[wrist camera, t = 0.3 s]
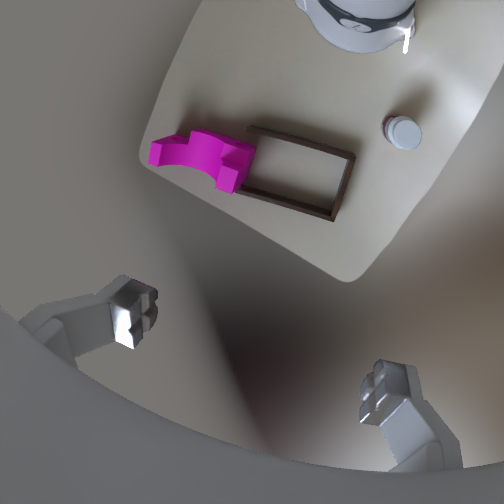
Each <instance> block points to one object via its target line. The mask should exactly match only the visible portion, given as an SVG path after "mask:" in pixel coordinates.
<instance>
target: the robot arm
mask: <svg viewBox="0 0 504 504" xmlns="http://www.w3.org/2000/svg"><path fill="white" fill-rule="evenodd" d="M295 3H296V5H297V6H298V7H299V8H300V9H302V10H303V11H304V12H305V13H307V14H308V16H309V17H310V19H311V21H312V23H313V25H314V26H315V28H316V29H317V31H318V32H319V33H320V34H321V35H322V36H323V37H324V38H325V39H326V40H328V41H329V42H331V43H332V44H334V45H336V46H338V47H340V48H342V49H345V50H348V51H351V52H357V53H373V52H378V51H381V50H384V49H386V48H388V47H389V46H391V45H392V44H393V43H395V42H397V41H400V40H405V44H404V50H403V53H407V47H408V40H409V39H411V38H412V37H413V36H414V35H415V24H414V21H415V18H414V12H413V8H414V6H415V3H416V0H295ZM157 298H158V291H157V290H156V289H155V288H153V287H151V286H149V285H146V284H144V283H141V282H139V281H137V280H135V279H132V278H130V277H127V276H125V275H119V276H118V277H117V278H116V279H114V280H113V281H112V282H111V283H109V284H108V285H107V286H106V287H104V288H103V289H102V290H101V291H99V292H98V293H97V294H96V295H94V294H88V295H84V296H79V297H74V298H69V299H65V300H60V301H55V302H51V303H46V304H41V305H38V306H37V307H36V308H35V309H33V310H32V311H31V312H29V313H28V314H27V315H26V316H25V317H23V318H22V319H21V320H20V321H18V322H17V321H16V320H15V319H13V317H11V316H10V315H9V314H8V313H7V312H6V311H5V310H4V309H3V308H2V307H1V306H0V504H504V461H503V462H498V463H494V464H488V465H483V466H477V467H470V468H463V463H462V456H461V450H460V444H459V441H458V439H457V438H456V437H455V435H454V434H453V433H452V432H451V430H450V429H449V428H448V426H447V425H446V424H445V423H444V421H443V420H442V419H441V418H440V416H439V415H438V414H437V413H436V411H435V410H434V409H433V408H432V406H431V405H430V404H429V403H428V401H426V400H423V395H422V390H421V386H420V381H419V376H418V372H417V368H416V367H415V366H412V365H406V364H400V363H395V362H390V361H385V360H381V359H379V360H378V361H377V362H376V363H375V365H374V366H373V370H374V371H373V372H371V373H369V374H367V376H366V377H365V379H364V380H363V383H362V385H361V389H360V399H361V401H362V402H363V405H362V406H361V407H360V423H364V424H370V425H376V426H380V429H381V431H382V433H383V435H384V437H385V439H386V441H387V443H388V445H389V447H390V449H391V451H392V453H393V455H394V457H395V459H396V461H397V463H398V465H397V466H396V467H394V468H393V469H391V470H389V471H388V472H377V471H362V470H352V469H342V468H335V467H327V466H321V465H315V464H309V463H304V462H299V461H294V460H289V459H285V458H280V457H276V456H272V455H268V454H264V453H261V452H257V451H254V450H250V449H246V448H243V447H240V446H237V445H234V444H231V443H227V442H224V441H222V440H218V439H216V438H213V437H210V436H208V435H205V434H202V433H200V432H197V431H194V430H192V429H189V428H187V427H185V426H182V425H180V424H178V423H175V422H173V421H171V420H168V419H166V418H164V417H162V416H160V415H158V414H155V413H153V412H151V411H149V410H147V409H145V408H143V407H141V406H139V405H137V404H135V403H134V402H132V401H130V400H128V399H126V398H124V397H123V396H121V395H119V394H117V393H115V392H114V391H112V390H110V389H109V388H107V387H105V386H104V385H102V384H100V383H99V382H97V381H95V380H94V379H92V378H91V377H89V376H88V375H86V374H84V373H83V372H81V371H80V370H78V366H77V364H76V361H75V357H77V356H80V355H83V354H85V353H87V352H90V351H92V350H95V349H97V348H100V347H102V346H105V345H107V344H109V343H112V342H114V341H115V340H116V341H118V342H120V343H122V344H124V345H126V346H128V347H130V348H132V349H134V348H135V347H136V346H137V345H138V343H139V342H140V341H141V340H142V339H143V332H146V331H149V330H150V329H151V328H152V327H153V325H154V323H155V321H156V318H157V313H158V308H157V306H156V304H155V301H156V299H157Z"/></svg>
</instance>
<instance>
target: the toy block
mask: <svg viewBox="0 0 504 504" xmlns="http://www.w3.org/2000/svg"><path fill="white" fill-rule="evenodd" d="M255 150H256V146H253V145H250V144H247V143H244V142H242V141H239V140H236V139H233V138H230V137H227V136H224V135H221V134H218V133H215V132H211V131H208V130H205V129H202V128H200V129H196V130H192V131H191V135H190V139H188V138H185V137H182V136H178V135H171V136H168V137H165V138H162V139H159V140H155V141H152V143H151V148H150V154H149V160H148V163H149V164H152V165H155V166H157V167H159V166H162V165H184V166H189V167H193V168H196V169H199V170H202V171H204V172H206V173H207V174H209V175H210V176H212V177H213V178H214V179H215V181H216V186H215V188H217V189H220V190H222V191H225V192H227V193H230V194H232V193H233V192H234V191H235V190H236V189H237V188H238V187H239V186H240V185H241V184H242V183H243V182H244V181H245V180H246V177H247V174H248V171H249V168H250V165H251V162H252V159H253V156H254V153H255Z"/></svg>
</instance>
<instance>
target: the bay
mask: <svg viewBox="0 0 504 504" xmlns="http://www.w3.org/2000/svg"><path fill="white" fill-rule="evenodd" d="M246 131H247V132H251V133H255V134H260V135H264V136H268V137H272V138H276V139H280V140H284V141H288V142H292V143H295V144H299V145H303V146H306V147H310V148H313V149H316V150H320V151H323V152H326V153H329V154H333V155H336V156H339V157H342V158H345V159H348V160H347V163H346V166H345V170H344V173H343V176H342V179H341V182H340V185H339V188H338V191H337V194H336V197H335V200H334V203H333V206H332V209H331V211H329V210H326V209H322V208H319V207H316V206H313V205H310V204H306V203H303V202H300V201H297V200H293V199H290V198H287V197H283V196H280V195H276V194H273V193H269V192H266V191H262V190H259V189H255V188H251V187H248V186H244V185H240V186H239V187H238V188H237V189H236V190H235V193H237V194H241V195H245V196H248V197H252V198H255V199H259V200H262V201H266V202H269V203H273V204H276V205H280V206H283V207H286V208H290V209H293V210H296V211H300V212H303V213H306V214H309V215H313V216H316V217H319V218H322V219H325V220H328V221H331V222H334V221H335V218H336V215H337V212H338V209H339V206H340V203H341V201H342V198H343V195H344V192H345V189H346V186H347V183H348V180H349V177H350V174H351V170H352V167H353V164H354V161H355V158H356V157H355V155H354V154H353V153H350V152H347V151H344V150H341V149H338V148H335V147H331V146H328V145H325V144H322V143H318V142H315V141H311V140H308V139H304V138H301V137H297V136H293V135H290V134H286V133H282V132H278V131H274V130H270V129H265V128H261V127H256V126H252V125H251V126H248V127H247V130H246Z"/></svg>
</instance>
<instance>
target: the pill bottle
mask: <svg viewBox="0 0 504 504" xmlns="http://www.w3.org/2000/svg"><path fill="white" fill-rule="evenodd" d="M381 132H382V134H383V136H384V138H385V139H386V140H387V141H389V142H390V143H392V144H393V145H394V146H396V147H398V148H400V149H409V150H410V149H414V148H416V147H417V146H418V145H419V144H420V142H421V140H422V132H421V129H420V127H419V126H418V125H417V124H416V123H415V122H414V121H413V120H412V119H411V118H409V117H407V116H402V115H396V114H392V115H388V116H387V117H385V118H384V120H383V121H382V123H381Z"/></svg>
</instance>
